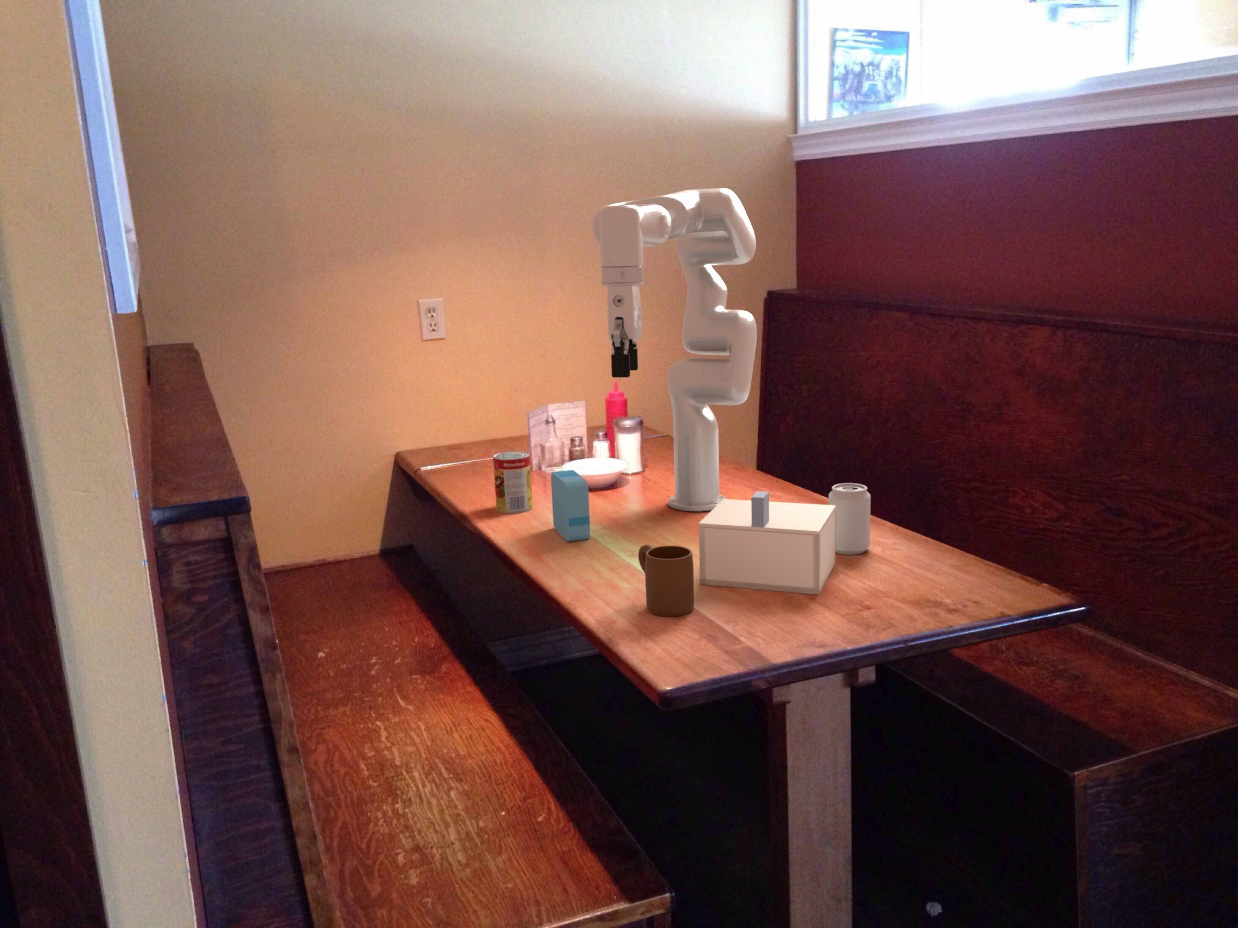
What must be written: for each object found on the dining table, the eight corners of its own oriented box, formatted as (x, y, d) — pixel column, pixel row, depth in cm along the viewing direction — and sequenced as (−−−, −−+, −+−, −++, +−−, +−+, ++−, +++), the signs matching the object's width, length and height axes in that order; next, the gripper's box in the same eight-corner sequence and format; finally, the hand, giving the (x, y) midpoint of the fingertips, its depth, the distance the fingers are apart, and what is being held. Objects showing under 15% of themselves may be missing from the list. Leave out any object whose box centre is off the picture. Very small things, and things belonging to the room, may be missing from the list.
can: (871, 544, 194) (872, 482, 191) (867, 557, 187) (868, 492, 185) (831, 542, 197) (831, 480, 194) (825, 554, 190) (825, 490, 187)
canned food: (525, 502, 234) (522, 449, 231) (537, 509, 227) (534, 455, 224) (491, 507, 231) (488, 454, 228) (503, 515, 224) (500, 460, 221)
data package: (590, 541, 203) (588, 481, 201) (568, 543, 202) (565, 483, 199) (574, 525, 214) (571, 468, 212) (553, 527, 213) (550, 470, 210)
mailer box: (724, 555, 191) (723, 502, 189) (835, 564, 184) (835, 509, 182) (699, 584, 177) (698, 527, 174) (818, 594, 169) (819, 535, 167)
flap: (723, 502, 189) (723, 471, 188) (835, 508, 182) (835, 477, 181) (698, 526, 174) (698, 494, 173) (819, 534, 167) (819, 500, 166)
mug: (622, 599, 171) (620, 544, 169) (661, 590, 175) (659, 535, 172) (664, 621, 161) (662, 562, 159) (704, 610, 165) (702, 553, 162)
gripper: (636, 278, 176) (639, 380, 179) (649, 274, 192) (652, 367, 196) (592, 279, 177) (596, 380, 180) (609, 275, 194) (612, 368, 197)
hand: (625, 373), depth 188 cm, fingers open, 9 cm apart
